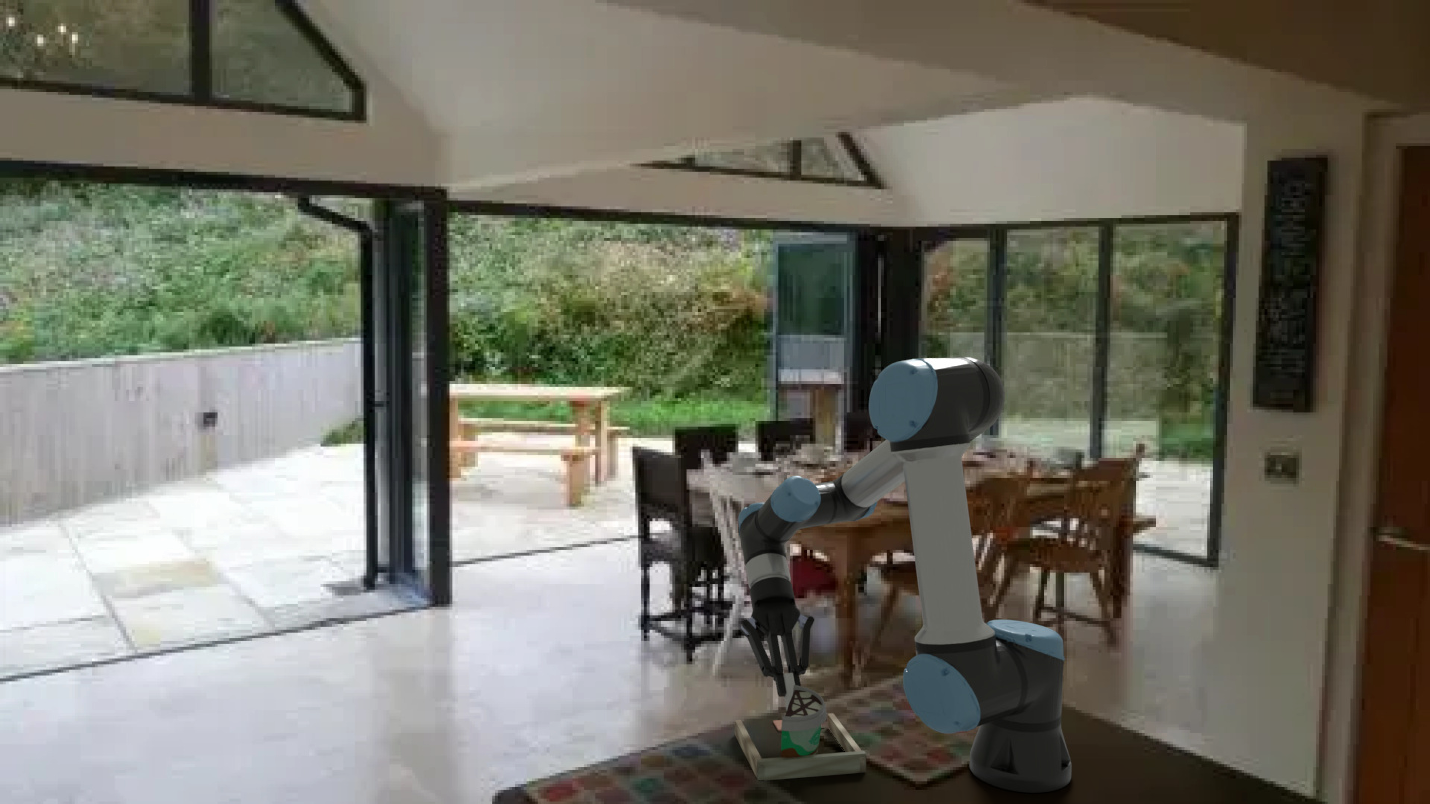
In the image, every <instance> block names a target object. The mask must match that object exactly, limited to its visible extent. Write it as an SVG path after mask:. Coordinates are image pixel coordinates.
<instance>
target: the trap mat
mask: <svg viewBox="0 0 1430 804" xmlns="http://www.w3.org/2000/svg"><path fill="white" fill-rule="evenodd" d="M772 724H773V725H774V726H775V728H776V730H777V731H778V732H782V730H781V727H782V719H779V720H777V719H775V720H772Z"/></svg>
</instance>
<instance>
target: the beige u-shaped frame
mask: <svg viewBox="0 0 1430 804" xmlns="http://www.w3.org/2000/svg"><path fill="white" fill-rule="evenodd" d="M826 720H827V721H826V724H827V725H828V727H829V728H830V730H831V731H832V733H833V734H834V735H835V736H836V738H837V739H838V741H839V742H840V744H841V745H842V747H843V749H844V750H843V749H842V750H843V751H842V752H831V753H820V754H817V755H806V756H802V757H794V758H784V757H781V756H780V757H779V756H778V757H767V758H762V756H761V755H760V753H759V751H758V749H757V748H756V745H755V744H754V742H753V740H752V738H751V736H750V734H749V732H748V730H747V728H746V727H745V725H744V723H743V721H742V720H741V719H736V720H734V735H735V738H736V740H737V741H738V744H739V745H740V748H741V750H742V752H743V754H744V756H745V757H746V759H747V761H748V763H749V766H750V768H751V769H752V771H753V773H754V775H755V777H756V779H757V781H758V780H764V781H773V780H775V781H776V780H785V779H797V778H810V777H811V778H812V777H823V776H836V775H847V774H850V775H851V774H858V773H859V774H861V773H866V772H867V753H866V751H865V750H861V748H860V746H859V745H858V744H857V743H856V742H855V740H854V738H852V736H851V734H850V733H849V732H848V731H847V729H846V728H845V727H844V725H842V723H841V722H840V720H839V719H838V717H837V716H836V715H835V713H833V712H831V713H827V718H826ZM844 751H845V752H844Z"/></svg>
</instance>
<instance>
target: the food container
mask: <svg viewBox="0 0 1430 804" xmlns="http://www.w3.org/2000/svg"><path fill="white" fill-rule="evenodd" d="M827 714H828V712H827V706H826V703H825V701H824V698H823V697H822V696H821V695H820V694H819V693H818V692H816V691H815V690H813V689H810V688H808V687H806V686H805V687H804V686H802V685H801V686H797V685H794V688H793V695H792V698H791V700H790V702H789V705H788V709H787V711H786V713H785V715H782V719H781V720H782V727H781V730H782V731H781V736H780V737H781V741H780V757H784V758H794V757H802V756H806V755H817V754H818V752H819V746H820V739H821V732H822V728H821V726H822V724H823V725H824V723H825V722H827V721H826V720H827Z"/></svg>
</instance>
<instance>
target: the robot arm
mask: <svg viewBox="0 0 1430 804" xmlns="http://www.w3.org/2000/svg"><path fill="white" fill-rule="evenodd" d="M870 390H871V391H870V394H869V398H868V399H869V400H868V413H869V418H870V422H871V425H872V427H873V429H875V430H877V434H878V435H879V436H880V437H881V438H883V439H884V440H883V441H882V442H881V443H880V444H879V445H878V446H876V447H875V448H874V449H873V450H872V451H870V452H869V453H868V454H867V455H865V456H864V457H862V458H861V459H860V460H859V461H858V462H856V463H855V464H853V466H851V467H850V468H849V469H847V471H845V472H844V473H842V474H841V475H840V476H838V477H837V478H836V479H834V480H831V481H825V482H817V483H814V482H813V481H812V480H810V479H809V478H806V477H801V476H800V475H793V476H790V477H788V478H785V479H784V481H783V482H781V483H780V484H779V485H778V486H777V487H776V488H775V489H774V490H773V492H772V494H771V495H769V497H768V498H767V500H765V502H755V503H750V504H749V506H746V507H744V508H742V509H741V511H740V512H739V514H738V518H737V520H738V530H739V531H738V535H739V538H740V544H741V549H742V555H743V556H742V557H743V560H744V565H745V572H746V579H747V583H748V588H749V595H750V601H751V609H752V612H751V615H750V617H749V618H748V619H743V620H742V623H741V626H740V629H739V631H740V632H741V633H742V634H743V635H744V636H745V637H746V639H747V641H748V643H749V645H750V647H751V650H752V653H753V655H754V657H755V659H756V661H757V664H758V665H759V669H760V671H761V673H762V675H763V677H766V678H768V677H771V678H772V680H773V681H774V682H775V685H776V691H777V695H778V697H779V698H783V699H784V700H783V701H784V704H785V705H784V706H785V711H786V712H787V709H788V705H789V702H790V700H791V698H792V695H793V688H794V685H797V686H802V684H801V680H800V679H801V678H800V676H801V675H802V676H803V675H805V674H806V672H807V670H808V668H809V662H810V661H809V660H810V659H809V658H810V646H811V645H810V643H811V642H810V641H811V630H812V627H813V625H814V623H815V617H813V616H812V615H811V616H808V617H807V616H805V615H803V614H801V611H800V609H799V608H798V606H797V604H796V598H795V594H794V590H793V589H794V588H793V584H792V582H791V580H792V577H791V574H790V573H791V572H790V569H789V564H788V558H787V554H786V549H785V546H786V545H785V544H786V543H787V542H788V541H790V539H792V537H793V536H795V534H796V533H797V532H798V531H799V530H801V529H806V528H812V527H813V528H814V527H818V526H819V527H820V526H826V525H832V524H838V523H847V522H856V521H859V520H862V519H865V518H869V517H870V516H872V514H874V513H875V512H874V511H875V509H876V507H877V506H878V505H877V504H878V501H879V500H881V499H883V497H885V496H887V495H888V494H889V493H891V492H892V491H893V490H894V489H896V488H897V487H899V486H900V485H902V484H903V483H905V484H904V485H905V491H906V500H907V507H908V515H909V522H910V523H909V524H910V531H911V532H910V533H911V538H912V539H911V540H912V548H913V554H914V555H913V557H914V562H915V571H916V577H917V578H916V579H917V580H916V581H917V586H918V587H917V588H918V594H919V603H920V609H921V617H922V627H921V628H920V630H919V631H918V632H917V633H916V635H914V646H915V654H916V655H915V656H913V657H912V658H911V659H909V660H908V661H907V663H906V667H905V668H904V670H903V674H902V684H903V685H902V686H903V690H904V695H905V697H906V700H907V702H908V705H909V706H910V708H911V710H912V711H913V712H914V714H915V716H917V717H918V718H919V719H920V720H921V722H922V723H923V724H924V725H926V726H927V727H928V728H930V729H931V730H933V731H935V732H938V733H942V734H946V735H947V734H955V733H959V732H969V731H972V730H974V729H976V728H977V727H978V730H977V731H976V732H977V733H976V735H975V737H974V739H973V743H972V746H971V748H970V751H969V769H970V771H971V772H972V774H973V775H974V776H975V777H976V778H978V779H979V780H980V781H982V782H984V783H987V784H989V785H991V786H994V787H996V788H1000V789H1003V790H1007V791H1012V792H1019V793H1033V794H1034V793H1035V794H1036V793H1037V794H1039V793H1048V792H1054V791H1057V790H1061V789H1063V788H1064V787H1066V786H1067V785H1068V784H1069V783H1070V782H1071V779H1072V762H1071V761H1072V760H1071V757H1070V753H1069V750H1068V748H1067V747H1068V746H1067V744H1066V741H1065V737H1064V734H1063V730H1062V706H1063V705H1062V704H1063V702H1062V701H1063V682H1064V661H1065V660H1066V659H1065V656H1064V640H1063V638H1062V636H1061V635H1060V633H1058V632H1057V631H1055V630H1054V629H1052V628H1049V627H1046V626H1043V625H1041V624H1040V625H1039V624H1036V623H1031V622H1027V621H1022V620H1014V619H1013V620H1012V619H993V620H989V621H988V622H984V620H983V614H982V605H981V598H980V591H979V583H978V573H977V568H976V567H977V566H976V562H975V561H976V560H975V559H976V558H975V552H974V551H975V550H974V546H973V544H974V543H973V536H972V529H971V523H970V522H971V521H970V514H969V513H970V512H969V506H968V505H969V504H968V499H967V498H968V497H967V491H966V483H965V475H964V467H963V460H962V459H963V455H964V454H965V453H966V451H967V450H968V449H969V448H970V446H971V442H972V441H973V440H975V439H976V438H978V437H979V436H980V435H982V434H984V433H985V432H986V431H987V430H988V429H990V428H991V427H992V426H993V425H994V424H995V423H996V422H997V421H998V419H999V417H1000V416H1001V414H1002V412H1003V410H1004V405H1005V400H1006V399H1005V395H1006V394H1005V387H1004V384H1003V382H1002V380H1001V377H1000V376H999V374H998V373H997V372H996V370H995V369H994V368H993V367H992V366H991V365H989V364H988V363H987V362H985V361H983V360H980V359H978V358H974V357H970V356H957V357H935V358H934V357H932V358H931V357H929V358H927V357H923V358H912V359H906V360H901V361H896V362H893V363H891V364H889V365H888V366H886V367H885V368H884V369H882V370H881V371H880V373H879V374H878V376H877V379H876V380H875V381H874V382H873V385H872V387H871V389H870ZM797 623H798V624H799V625H798V627H799V629H800V631H801V632H800V639H799V640H800V641H799V658H798V660H797V655H796V649H795V645H794V638H793V630H794V628H795V626H796V625H797ZM757 628H758V629H759V630H760V631H761V632H762V633H763V634H765V637H766V643H768V645H767V646H768V650H769V655H770V656H768V653H767V651H766V648H765V647H764V644H763V642H762V640H761V638H760V635H759V632H758V630H757ZM779 637H780V640H781V643H782V645H783V646H782V647H783V651H784V656H785V663H786V667H787V672H785V673H784V666H783V665H784V664H783V660H782V659H783V658H782V655H781V649H780V648H781V647H780V644H779V643H780V642H779ZM769 657H770V658H769Z"/></svg>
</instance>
